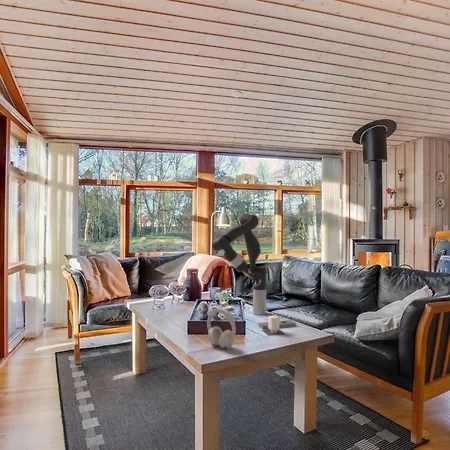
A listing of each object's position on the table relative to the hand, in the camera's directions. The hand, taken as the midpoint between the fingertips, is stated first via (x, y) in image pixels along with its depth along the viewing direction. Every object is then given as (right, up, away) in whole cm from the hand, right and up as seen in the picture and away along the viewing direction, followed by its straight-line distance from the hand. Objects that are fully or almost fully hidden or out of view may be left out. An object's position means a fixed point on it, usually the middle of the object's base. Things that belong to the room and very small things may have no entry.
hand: (255, 280), depth 225 cm
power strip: (+13, -29, 0) cm, 32 cm away
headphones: (-21, -29, -35) cm, 50 cm away
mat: (+10, -29, -12) cm, 33 cm away
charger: (+9, -28, -12) cm, 32 cm away
